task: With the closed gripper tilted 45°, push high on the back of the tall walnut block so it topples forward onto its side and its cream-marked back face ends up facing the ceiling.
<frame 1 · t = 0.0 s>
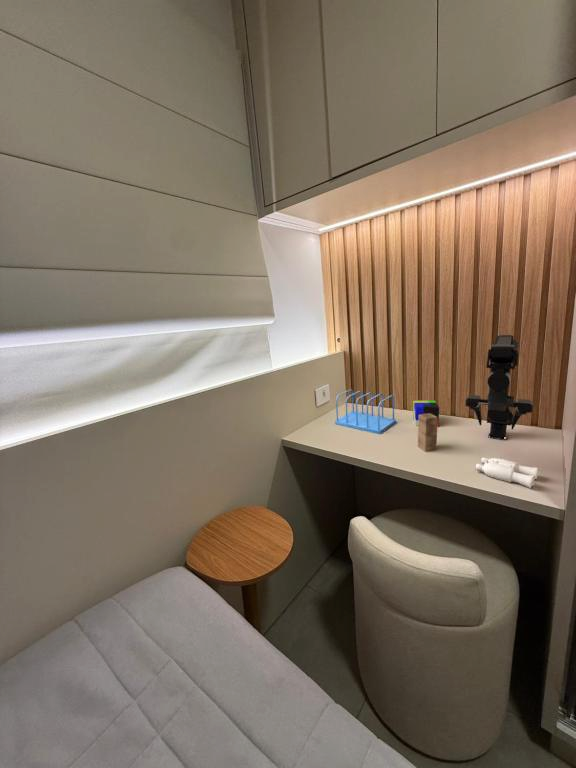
hand: (495, 426, 111), 15 cm above the table, tool pointing down, fingers open, 9 cm apart
walnut block: (427, 448, 131), on the table
file sorter: (365, 424, 163), on the table
puzzle toy: (425, 423, 157), on the table
binoculars: (505, 476, 108), on the table
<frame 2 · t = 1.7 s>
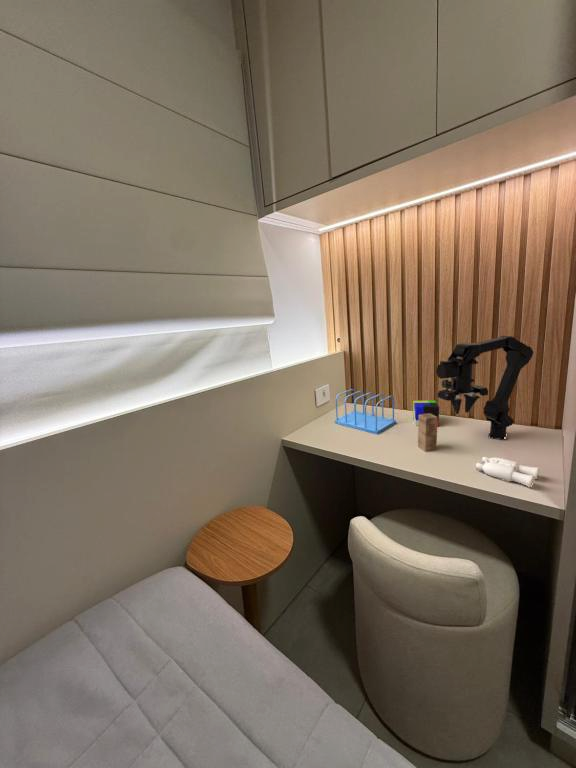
hand: (461, 413, 130), 13 cm above the table, tool pointing down, fingers open, 4 cm apart
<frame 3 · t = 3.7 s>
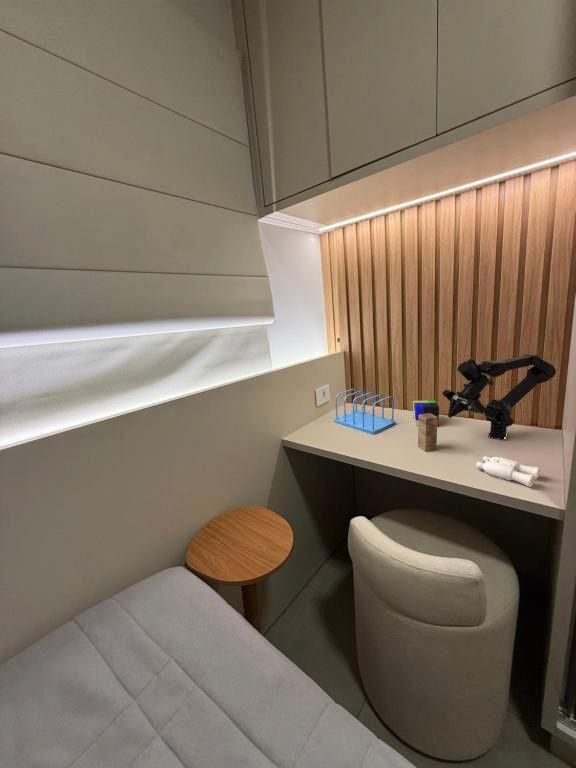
hand: (448, 417, 130), 12 cm above the table, tool tilted 45°, fingers closed
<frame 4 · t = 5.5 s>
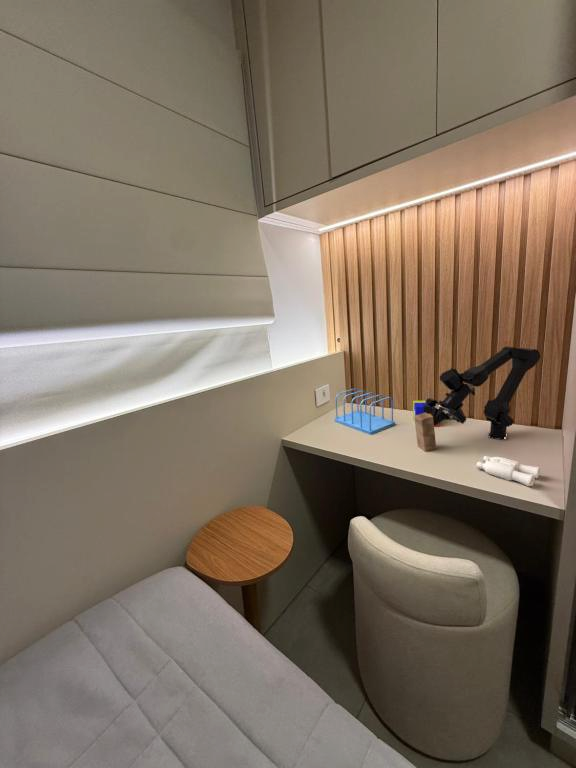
hand: (430, 425, 129), 9 cm above the table, tool tilted 45°, fingers closed
walnut block: (426, 447, 131), on the table, tilted 8°, touching gripper
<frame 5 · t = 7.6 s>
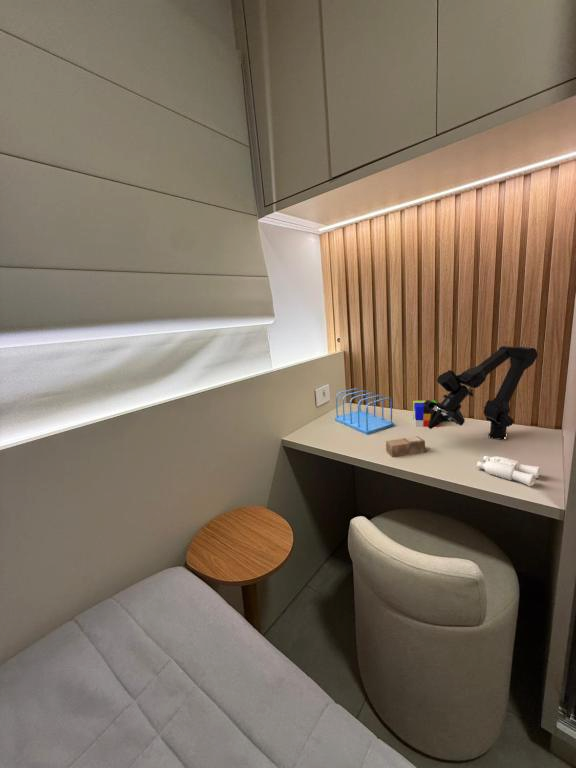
hand: (429, 428, 129), 9 cm above the table, tool tilted 45°, fingers closed
walnut block: (421, 444, 130), point 2 cm above the table, tilted 90°
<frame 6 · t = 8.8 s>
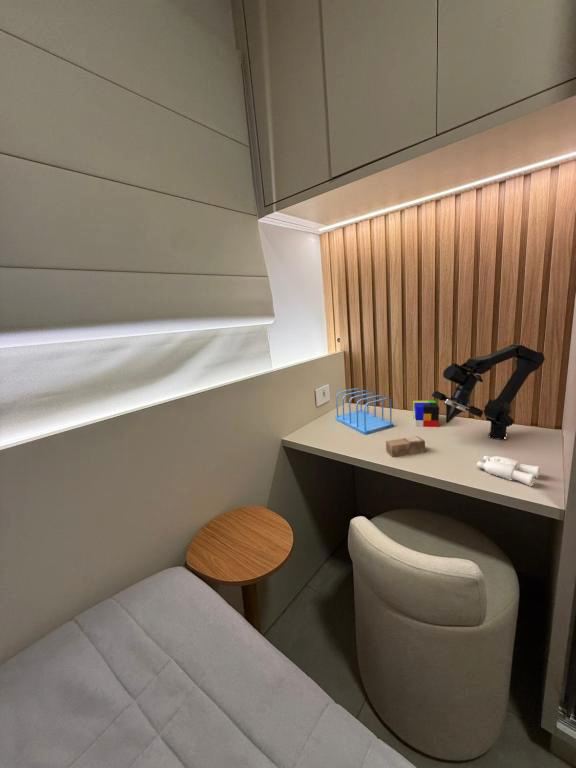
hand: (446, 422, 130), 10 cm above the table, tool tilted 30°, fingers closed
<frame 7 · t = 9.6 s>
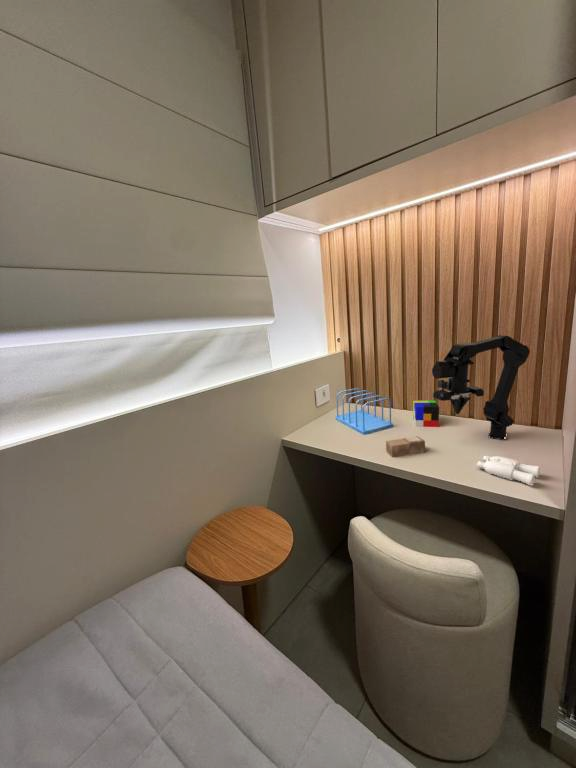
hand: (457, 413, 130), 13 cm above the table, tool pointing down, fingers closed
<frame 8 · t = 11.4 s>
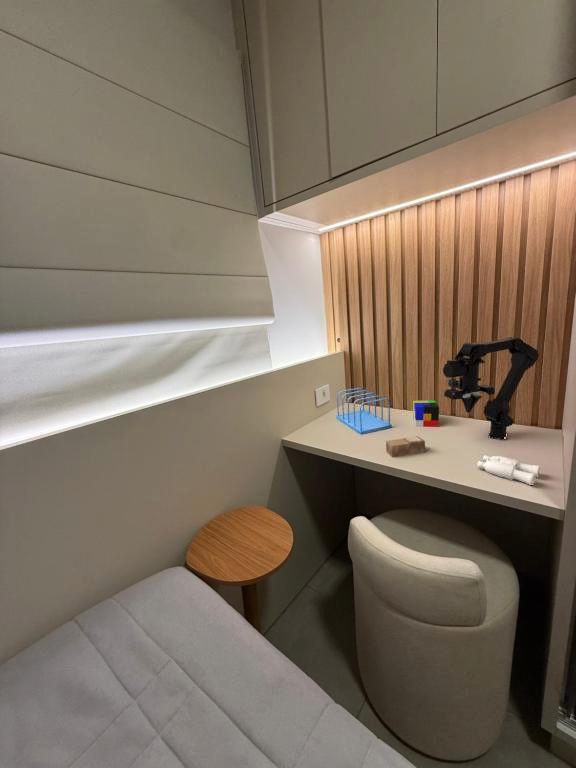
hand: (468, 412, 131), 13 cm above the table, tool pointing down, fingers closed
at the end: walnut block tilted 90°; walnut block inside the target area (0.3 cm from its centre), point 2.2 cm above the table; the gripper is holding nothing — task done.
